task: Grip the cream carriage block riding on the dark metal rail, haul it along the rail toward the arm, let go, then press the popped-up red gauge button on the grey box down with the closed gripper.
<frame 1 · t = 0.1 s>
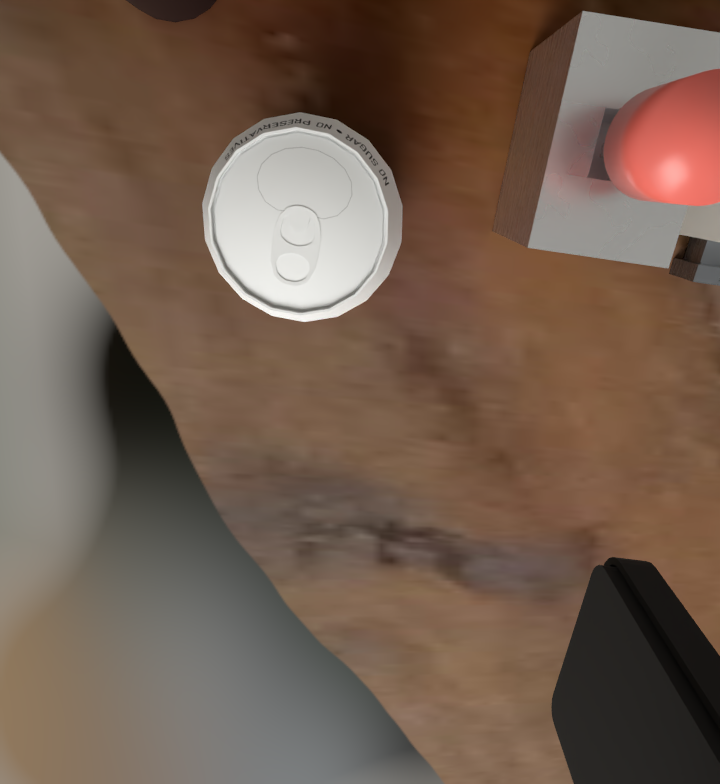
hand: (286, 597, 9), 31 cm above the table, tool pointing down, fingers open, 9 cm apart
grey box: (567, 154, 36), on the table
supplement can: (326, 206, 37), on the table
gauge button: (657, 145, 24), point 12 cm above the table, slide at 0.0 cm
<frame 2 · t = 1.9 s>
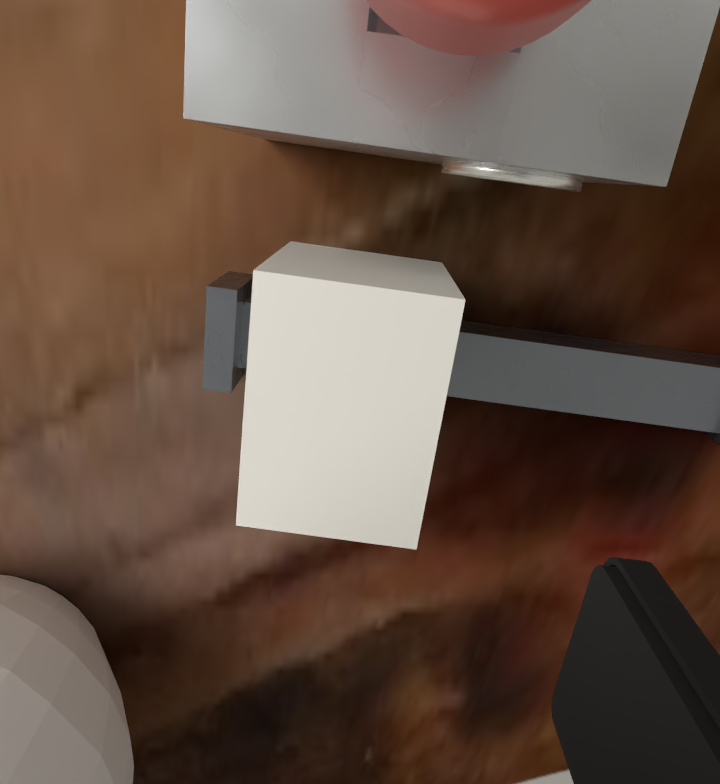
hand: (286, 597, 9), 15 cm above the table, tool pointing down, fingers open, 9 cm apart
grey box: (425, 45, 19), on the table
rail: (484, 353, 23), on the table
carriage: (349, 372, 19), point 4 cm above the table, slide at 5.0 cm
pitcher: (5, 645, 29), on the table
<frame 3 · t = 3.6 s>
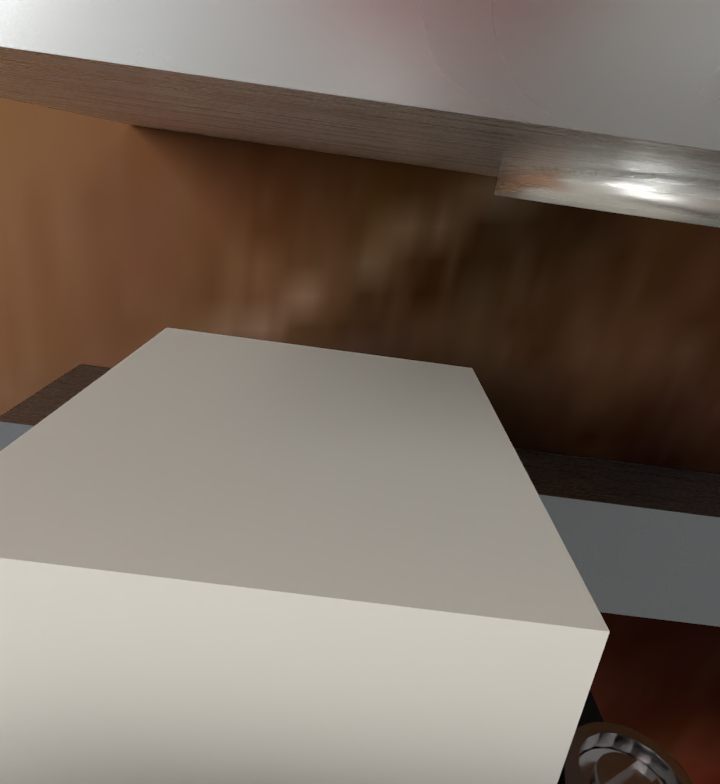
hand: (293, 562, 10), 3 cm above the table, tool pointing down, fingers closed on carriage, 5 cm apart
rail: (536, 500, 13), on the table
carriage: (283, 609, 9), point 4 cm above the table, slide at 5.0 cm, touching gripper
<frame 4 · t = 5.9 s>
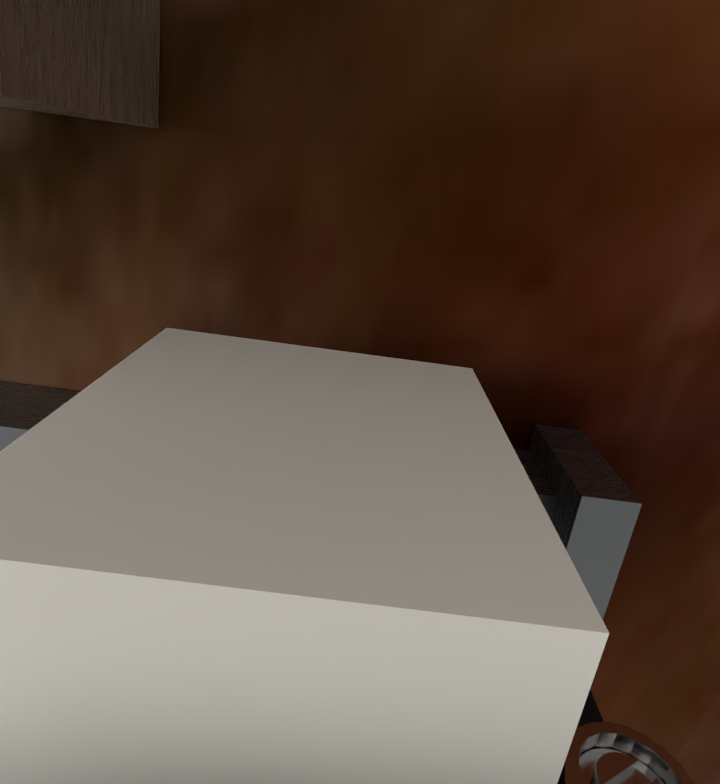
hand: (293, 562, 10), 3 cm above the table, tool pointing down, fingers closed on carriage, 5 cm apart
rail: (107, 446, 13), on the table
carriage: (283, 610, 9), point 4 cm above the table, slide at -4.5 cm, touching gripper
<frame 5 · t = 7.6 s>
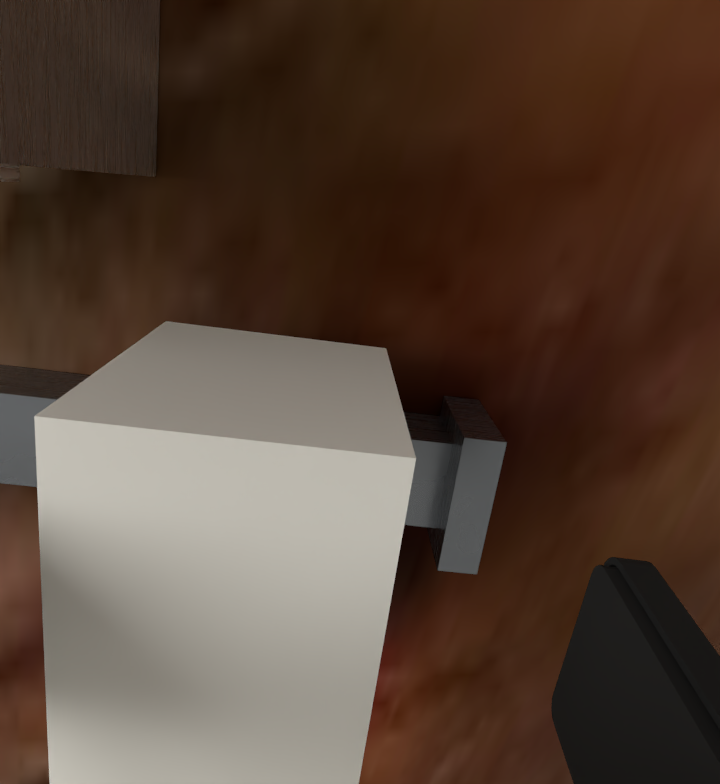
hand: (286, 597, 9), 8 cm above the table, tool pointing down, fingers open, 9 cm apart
rail: (113, 418, 17), on the table
carriage: (252, 517, 13), point 4 cm above the table, slide at -4.5 cm
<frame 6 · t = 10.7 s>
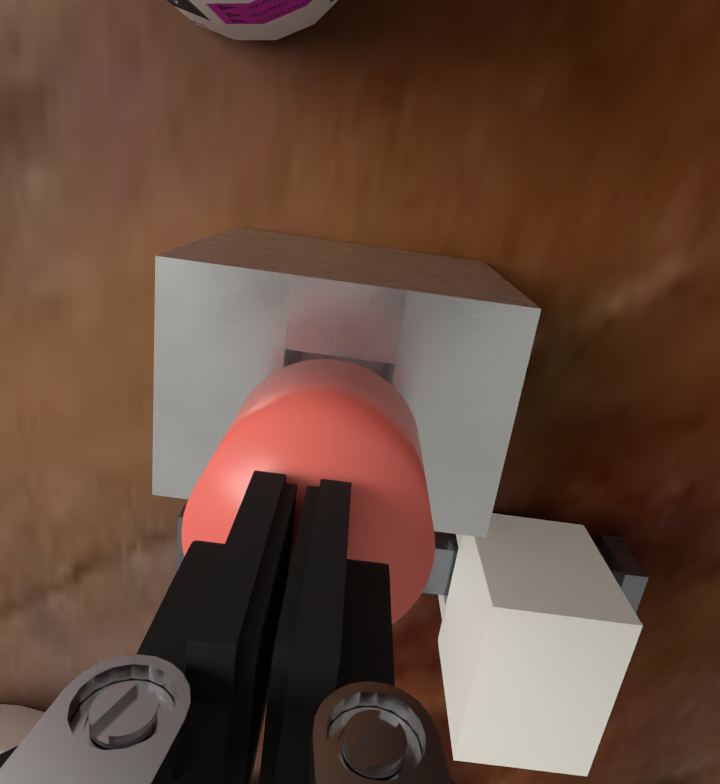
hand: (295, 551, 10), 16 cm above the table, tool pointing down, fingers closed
grey box: (348, 328, 25), on the table
rail: (405, 542, 28), on the table
carriage: (518, 618, 24), point 4 cm above the table, slide at -4.5 cm
pitcher: (14, 758, 34), on the table
gauge button: (326, 448, 14), point 12 cm above the table, slide at 0.4 cm, touching gripper
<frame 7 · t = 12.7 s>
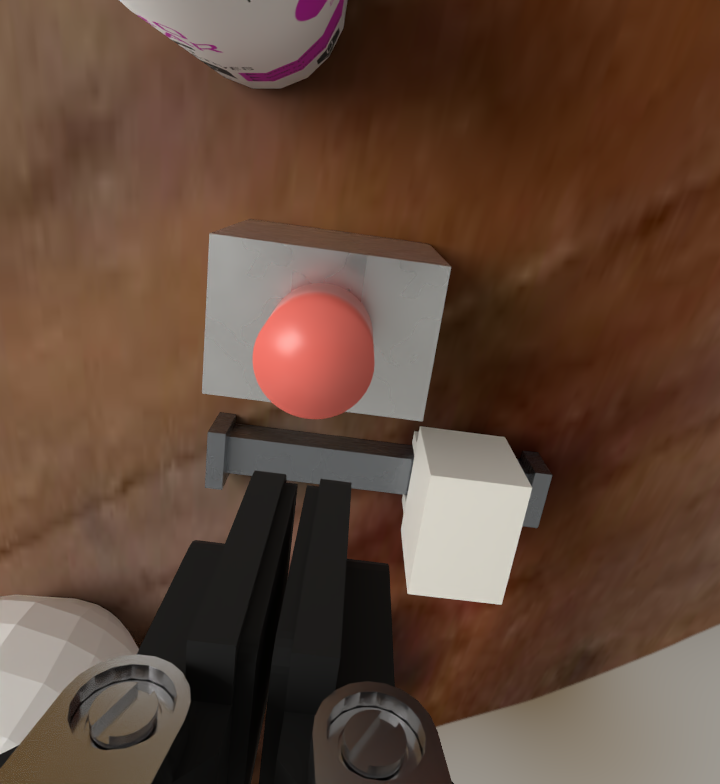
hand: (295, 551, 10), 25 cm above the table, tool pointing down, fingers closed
grey box: (332, 293, 34), on the table
rail: (376, 458, 38), on the table
carriage: (456, 502, 34), point 4 cm above the table, slide at -4.5 cm
pitcher: (67, 645, 43), on the table
gauge button: (321, 335, 25), point 9 cm above the table, slide at 2.6 cm
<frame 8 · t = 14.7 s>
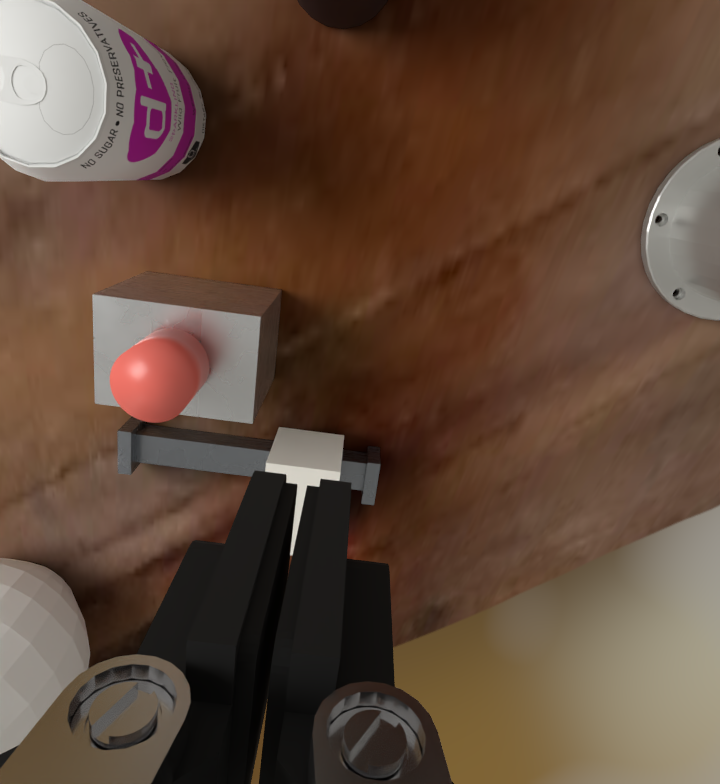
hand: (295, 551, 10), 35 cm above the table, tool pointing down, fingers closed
grey box: (212, 326, 45), on the table
supplement can: (149, 115, 40), on the table
rail: (255, 451, 49), on the table
carriage: (304, 484, 45), point 4 cm above the table, slide at -4.5 cm
pitcher: (23, 599, 54), on the table
gauge button: (173, 363, 36), point 9 cm above the table, slide at 2.6 cm
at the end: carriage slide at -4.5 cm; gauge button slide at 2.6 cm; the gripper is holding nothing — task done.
